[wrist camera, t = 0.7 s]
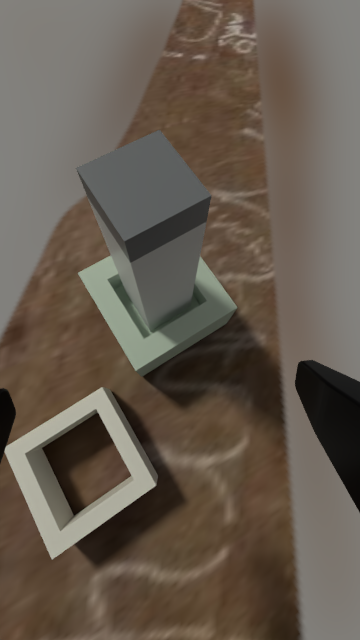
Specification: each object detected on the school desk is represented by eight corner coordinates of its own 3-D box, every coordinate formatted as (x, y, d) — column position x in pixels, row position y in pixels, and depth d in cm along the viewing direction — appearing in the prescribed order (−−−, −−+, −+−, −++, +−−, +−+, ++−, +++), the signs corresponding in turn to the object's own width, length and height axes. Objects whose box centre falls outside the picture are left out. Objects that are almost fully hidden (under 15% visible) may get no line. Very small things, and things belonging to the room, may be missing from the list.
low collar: (158, 475, 20) (156, 485, 18) (67, 540, 19) (51, 559, 16) (109, 389, 22) (102, 387, 19) (22, 443, 20) (3, 448, 18)
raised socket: (226, 323, 23) (237, 307, 20) (141, 376, 22) (135, 370, 18) (174, 249, 25) (174, 221, 21) (92, 294, 24) (77, 272, 20)
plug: (190, 307, 22) (211, 195, 10) (150, 331, 21) (124, 241, 9) (165, 271, 22) (159, 129, 11) (126, 293, 22) (75, 168, 10)
